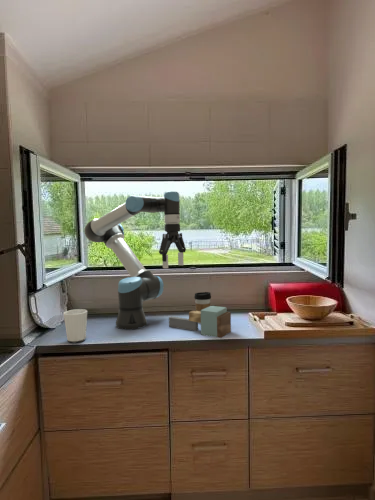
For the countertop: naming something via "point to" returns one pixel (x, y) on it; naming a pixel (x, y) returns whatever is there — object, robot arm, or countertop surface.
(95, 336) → the countertop surface
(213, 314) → the bore block
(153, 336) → the countertop surface
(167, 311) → the countertop surface
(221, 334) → the wall
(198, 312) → the oak peg
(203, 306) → the coffee cup
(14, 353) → the countertop surface
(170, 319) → the rail
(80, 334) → the cup
